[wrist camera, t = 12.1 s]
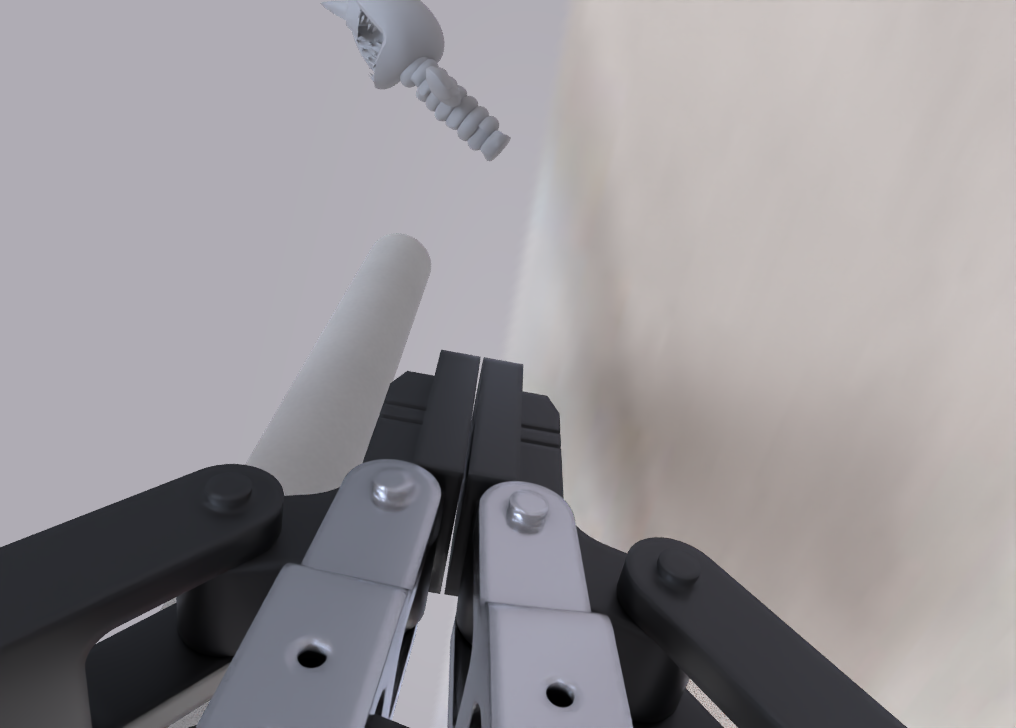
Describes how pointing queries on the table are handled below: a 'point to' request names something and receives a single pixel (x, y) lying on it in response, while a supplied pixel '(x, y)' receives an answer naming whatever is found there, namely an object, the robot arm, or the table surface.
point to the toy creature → (417, 64)
